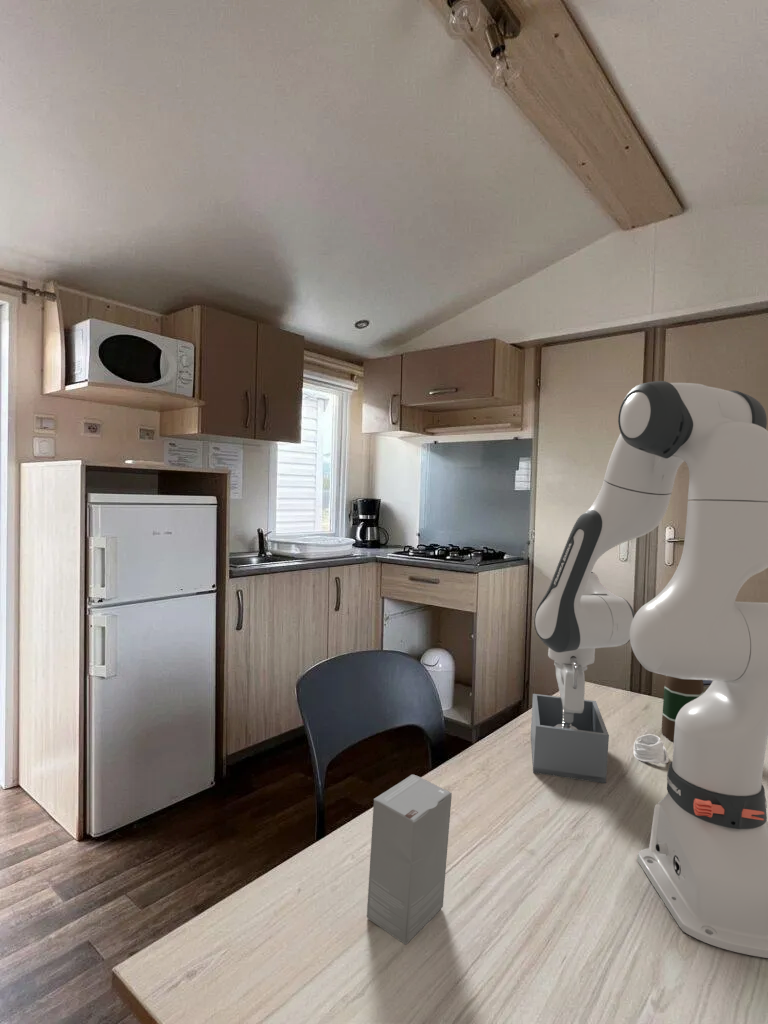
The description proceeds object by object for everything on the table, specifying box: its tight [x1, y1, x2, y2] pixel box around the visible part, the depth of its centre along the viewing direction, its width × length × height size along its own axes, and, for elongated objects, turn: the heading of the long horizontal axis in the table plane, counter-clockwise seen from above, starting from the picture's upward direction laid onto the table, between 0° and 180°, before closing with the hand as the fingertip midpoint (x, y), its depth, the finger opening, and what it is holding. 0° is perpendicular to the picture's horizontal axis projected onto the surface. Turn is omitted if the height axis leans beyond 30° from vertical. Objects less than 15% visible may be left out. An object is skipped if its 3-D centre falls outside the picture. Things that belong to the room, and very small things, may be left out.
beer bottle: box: [661, 675, 705, 742], centre depth 130 cm, size 8×8×24 cm
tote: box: [530, 693, 610, 784], centre depth 119 cm, size 18×13×9 cm
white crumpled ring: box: [632, 733, 670, 764], centre depth 120 cm, size 8×7×5 cm
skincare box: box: [366, 773, 453, 945], centre depth 73 cm, size 8×7×16 cm
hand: (567, 718), depth 119 cm, fingers closed
